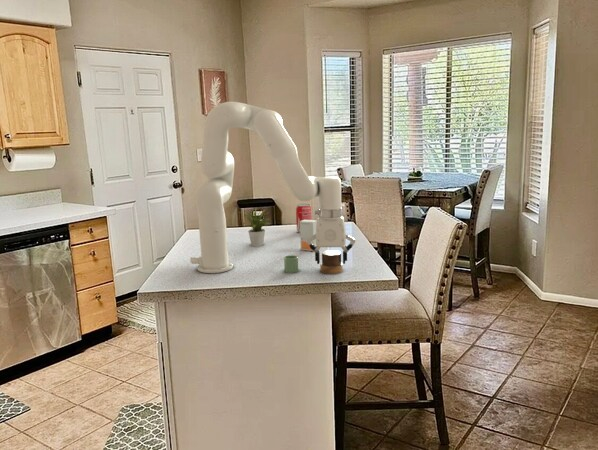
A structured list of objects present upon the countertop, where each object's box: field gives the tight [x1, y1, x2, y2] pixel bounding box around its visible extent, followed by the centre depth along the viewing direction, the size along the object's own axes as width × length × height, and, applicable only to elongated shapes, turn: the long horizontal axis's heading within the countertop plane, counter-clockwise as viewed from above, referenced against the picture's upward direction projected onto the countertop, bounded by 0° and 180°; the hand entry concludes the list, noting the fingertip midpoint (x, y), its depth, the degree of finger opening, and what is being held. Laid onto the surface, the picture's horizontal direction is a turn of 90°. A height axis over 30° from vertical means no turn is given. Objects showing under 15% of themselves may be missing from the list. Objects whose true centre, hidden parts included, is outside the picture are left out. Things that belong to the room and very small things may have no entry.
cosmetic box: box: [299, 219, 317, 252], centre depth 207 cm, size 6×4×12 cm
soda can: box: [295, 203, 312, 234], centre depth 240 cm, size 7×7×13 cm
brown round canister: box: [321, 249, 342, 267], centre depth 177 cm, size 7×7×4 cm
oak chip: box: [319, 262, 343, 275], centre depth 177 cm, size 8×8×2 cm
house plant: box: [239, 206, 271, 247], centre depth 216 cm, size 14×14×16 cm
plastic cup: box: [283, 254, 299, 274], centre depth 178 cm, size 5×5×5 cm
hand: (331, 262), depth 177 cm, fingers open, 8 cm apart
